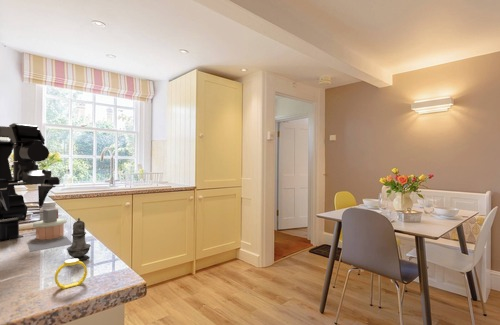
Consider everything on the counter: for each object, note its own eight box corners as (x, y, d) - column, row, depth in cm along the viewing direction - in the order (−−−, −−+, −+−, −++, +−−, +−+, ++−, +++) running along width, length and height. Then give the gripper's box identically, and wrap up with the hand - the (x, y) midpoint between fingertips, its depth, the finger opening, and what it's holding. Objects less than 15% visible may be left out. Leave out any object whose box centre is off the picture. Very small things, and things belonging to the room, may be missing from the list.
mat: (27, 244, 88) (27, 243, 88) (66, 238, 96) (66, 237, 96) (30, 253, 80) (30, 251, 80) (72, 245, 88) (72, 243, 88)
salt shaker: (78, 264, 72) (78, 220, 72) (61, 262, 73) (61, 219, 73) (95, 256, 78) (95, 216, 78) (78, 255, 79) (78, 215, 79)
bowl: (31, 238, 95) (31, 224, 95) (56, 233, 102) (56, 220, 102) (43, 241, 92) (43, 227, 92) (68, 235, 99) (68, 222, 99)
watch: (85, 281, 62) (87, 256, 62) (86, 286, 60) (89, 259, 60) (53, 287, 58) (56, 260, 59) (54, 292, 56) (56, 264, 56)
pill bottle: (61, 226, 114) (61, 200, 114) (53, 229, 108) (53, 202, 108) (44, 226, 112) (44, 201, 112) (36, 230, 106) (36, 203, 106)
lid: (26, 225, 95) (26, 210, 95) (57, 219, 104) (57, 206, 104) (42, 228, 90) (41, 213, 90) (72, 222, 99) (72, 208, 99)
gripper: (-1, 161, 76) (0, 215, 76) (68, 161, 92) (68, 205, 92) (-18, 161, 81) (-17, 212, 81) (51, 161, 97) (51, 203, 97)
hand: (24, 208), depth 88 cm, fingers open, 9 cm apart
